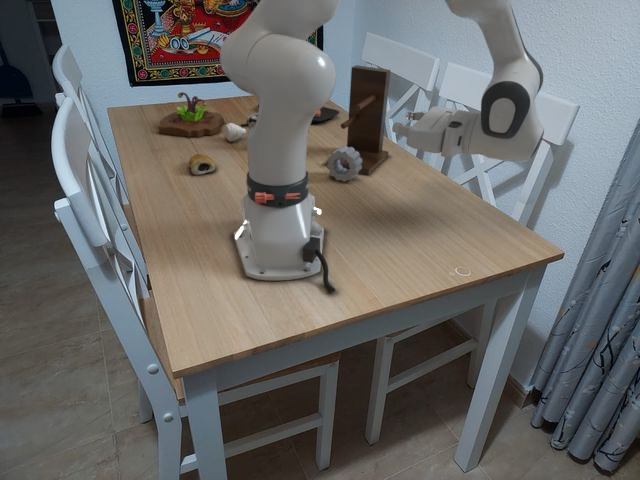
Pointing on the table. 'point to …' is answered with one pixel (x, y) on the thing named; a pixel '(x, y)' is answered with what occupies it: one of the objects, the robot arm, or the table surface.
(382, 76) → the stand
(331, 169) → the grey knurled ring
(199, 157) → the pastry
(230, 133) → the white cream swirl
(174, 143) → the table surface
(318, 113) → the sushi plate
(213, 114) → the plant
